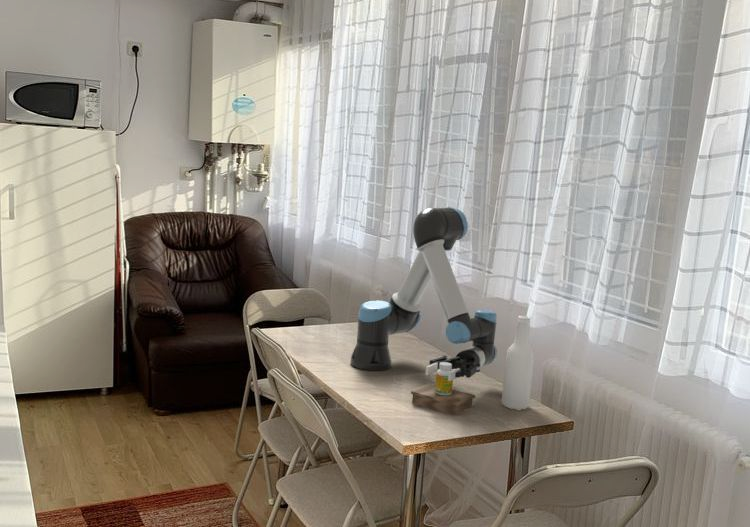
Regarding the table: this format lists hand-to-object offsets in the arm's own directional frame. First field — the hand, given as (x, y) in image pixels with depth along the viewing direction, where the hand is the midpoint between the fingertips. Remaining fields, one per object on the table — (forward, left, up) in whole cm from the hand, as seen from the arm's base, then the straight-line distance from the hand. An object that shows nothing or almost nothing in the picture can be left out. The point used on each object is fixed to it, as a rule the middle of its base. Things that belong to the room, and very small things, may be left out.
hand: (438, 373), depth 247 cm
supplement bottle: (0, +5, -8) cm, 9 cm away
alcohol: (+18, +22, -12) cm, 31 cm away
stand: (0, +5, -12) cm, 12 cm away
